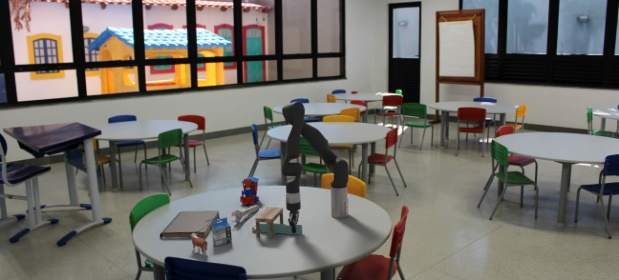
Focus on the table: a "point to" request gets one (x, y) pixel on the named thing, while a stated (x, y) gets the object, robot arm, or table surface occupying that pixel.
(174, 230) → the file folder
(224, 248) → the table surface
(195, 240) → the bull figurine
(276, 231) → the long teal stick
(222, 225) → the label tape box
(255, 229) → the puck
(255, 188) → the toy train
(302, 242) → the table surface
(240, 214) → the wrench
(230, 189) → the table surface
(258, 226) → the bench
